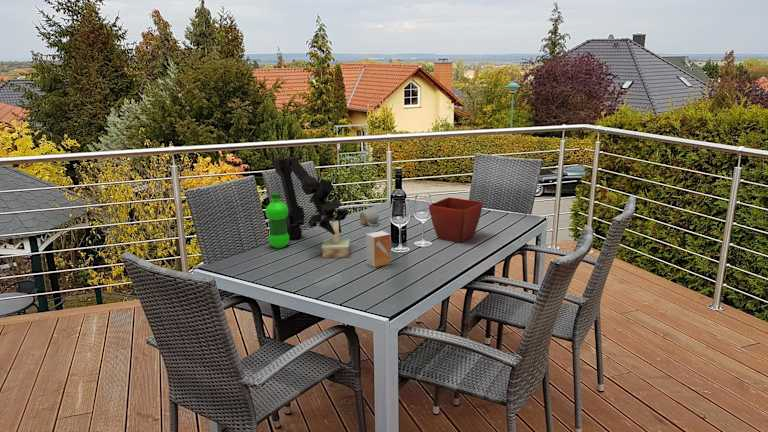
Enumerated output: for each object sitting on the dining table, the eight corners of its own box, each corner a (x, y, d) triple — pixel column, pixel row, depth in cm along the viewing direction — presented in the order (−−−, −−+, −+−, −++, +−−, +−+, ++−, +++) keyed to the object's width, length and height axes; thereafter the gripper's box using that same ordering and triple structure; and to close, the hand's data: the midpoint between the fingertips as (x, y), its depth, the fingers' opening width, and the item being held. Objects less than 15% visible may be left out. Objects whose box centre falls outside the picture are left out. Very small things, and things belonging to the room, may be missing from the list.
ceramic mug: (358, 223, 290) (358, 209, 288) (371, 221, 294) (371, 207, 292) (369, 228, 281) (369, 214, 279) (382, 225, 285) (382, 211, 283)
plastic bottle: (263, 248, 252) (259, 195, 246) (278, 241, 261) (274, 190, 255) (281, 250, 248) (277, 197, 241) (295, 244, 257) (291, 192, 250)
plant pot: (463, 246, 248) (463, 210, 244) (427, 239, 260) (427, 204, 255) (483, 236, 263) (483, 201, 259) (448, 230, 274) (448, 197, 270)
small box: (374, 267, 223) (373, 237, 220) (366, 263, 228) (365, 233, 225) (391, 263, 228) (390, 233, 224) (382, 259, 233) (382, 230, 229)
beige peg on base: (321, 250, 236) (320, 225, 233) (324, 242, 247) (323, 218, 244) (348, 249, 236) (347, 224, 233) (350, 242, 247) (349, 217, 244)
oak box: (322, 257, 237) (322, 249, 236) (325, 249, 248) (325, 241, 247) (348, 257, 237) (347, 248, 236) (349, 249, 248) (349, 240, 247)
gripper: (310, 197, 233) (327, 227, 227) (345, 190, 244) (361, 219, 239) (301, 212, 240) (317, 241, 235) (335, 205, 252) (351, 232, 247)
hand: (337, 233), depth 239 cm, fingers closed on beige peg on base, 3 cm apart
